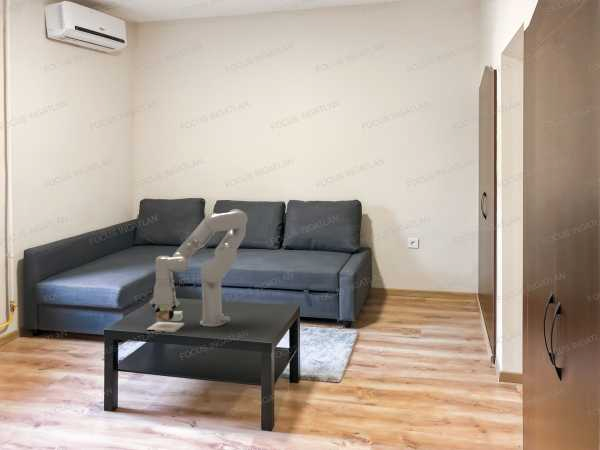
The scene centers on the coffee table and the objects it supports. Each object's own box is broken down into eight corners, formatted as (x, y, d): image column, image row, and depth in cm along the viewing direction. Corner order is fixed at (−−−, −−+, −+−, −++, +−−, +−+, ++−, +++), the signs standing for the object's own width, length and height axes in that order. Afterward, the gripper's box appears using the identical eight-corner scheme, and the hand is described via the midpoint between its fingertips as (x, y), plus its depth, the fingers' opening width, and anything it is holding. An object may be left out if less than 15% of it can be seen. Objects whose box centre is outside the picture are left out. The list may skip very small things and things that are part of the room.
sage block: (182, 318, 292) (182, 311, 291) (180, 321, 286) (179, 314, 285) (171, 318, 292) (171, 311, 291) (168, 321, 286) (168, 314, 285)
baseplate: (184, 324, 279) (184, 323, 279) (174, 332, 268) (174, 330, 268) (157, 323, 282) (157, 321, 282) (147, 330, 270) (146, 328, 270)
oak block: (173, 318, 276) (173, 310, 276) (167, 321, 271) (167, 313, 270) (162, 317, 278) (161, 309, 277) (156, 321, 272) (155, 312, 272)
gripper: (183, 280, 274) (184, 316, 276) (150, 279, 278) (151, 314, 280) (177, 283, 267) (178, 320, 269) (143, 282, 270) (144, 318, 272)
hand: (164, 317), depth 274 cm, fingers closed on oak block, 6 cm apart
